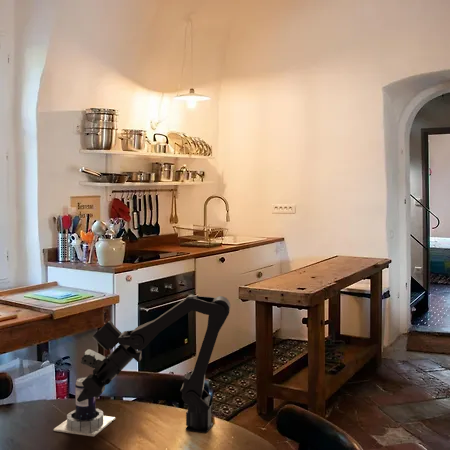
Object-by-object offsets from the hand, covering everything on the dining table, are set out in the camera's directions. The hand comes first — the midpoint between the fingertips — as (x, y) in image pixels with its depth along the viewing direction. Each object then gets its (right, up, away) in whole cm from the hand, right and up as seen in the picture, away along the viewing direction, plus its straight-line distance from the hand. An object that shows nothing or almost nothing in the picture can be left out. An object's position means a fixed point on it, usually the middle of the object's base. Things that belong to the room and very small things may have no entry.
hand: (81, 397), depth 173 cm
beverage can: (+1, -7, 0) cm, 7 cm away
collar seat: (+1, -8, 0) cm, 8 cm away
